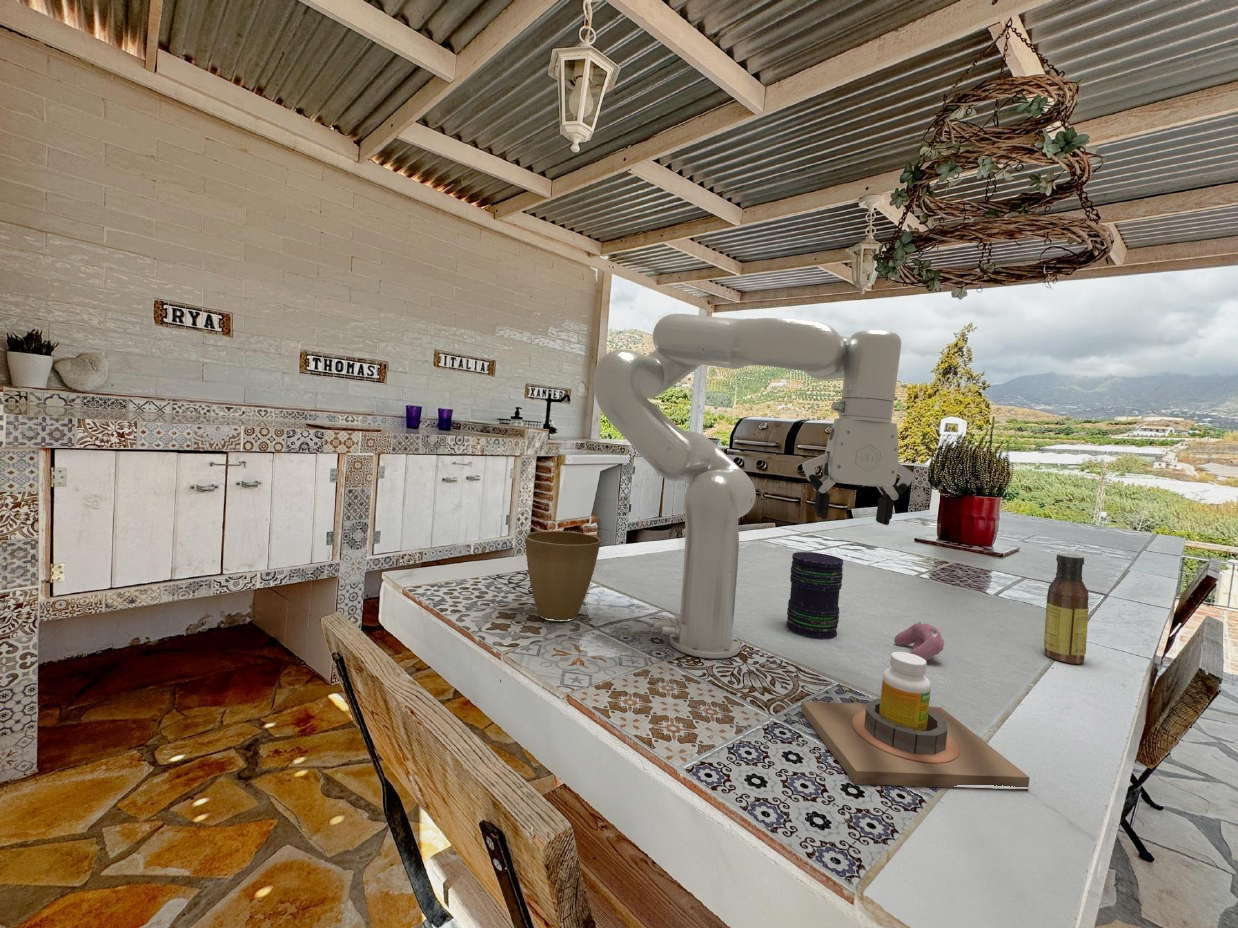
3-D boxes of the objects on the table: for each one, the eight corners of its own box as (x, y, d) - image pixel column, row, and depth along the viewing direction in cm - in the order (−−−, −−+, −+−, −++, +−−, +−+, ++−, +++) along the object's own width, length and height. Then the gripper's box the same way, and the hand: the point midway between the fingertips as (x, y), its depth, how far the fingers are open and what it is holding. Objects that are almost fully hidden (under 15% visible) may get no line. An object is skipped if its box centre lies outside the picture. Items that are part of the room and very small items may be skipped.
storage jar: (847, 635, 111) (854, 561, 110) (817, 642, 105) (823, 565, 105) (806, 619, 119) (812, 550, 118) (775, 625, 114) (781, 553, 113)
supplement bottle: (923, 750, 66) (932, 670, 66) (874, 734, 69) (882, 658, 69) (926, 731, 71) (934, 656, 70) (880, 717, 74) (887, 645, 73)
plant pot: (593, 632, 103) (599, 546, 102) (513, 626, 103) (518, 541, 103) (597, 607, 118) (602, 532, 117) (527, 602, 118) (532, 527, 117)
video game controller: (931, 674, 98) (954, 642, 97) (907, 660, 98) (929, 627, 97) (912, 653, 107) (933, 623, 107) (890, 640, 108) (911, 610, 107)
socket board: (854, 783, 62) (858, 748, 61) (801, 711, 78) (803, 683, 77) (1028, 790, 63) (1031, 755, 62) (939, 717, 79) (942, 689, 78)
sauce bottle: (1078, 656, 107) (1089, 555, 106) (1089, 668, 101) (1101, 560, 100) (1036, 649, 110) (1047, 550, 109) (1045, 660, 104) (1057, 555, 103)
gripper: (818, 406, 83) (804, 519, 84) (934, 417, 83) (918, 530, 84) (802, 407, 91) (790, 511, 92) (908, 418, 90) (894, 521, 92)
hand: (851, 520), depth 88 cm, fingers open, 9 cm apart
